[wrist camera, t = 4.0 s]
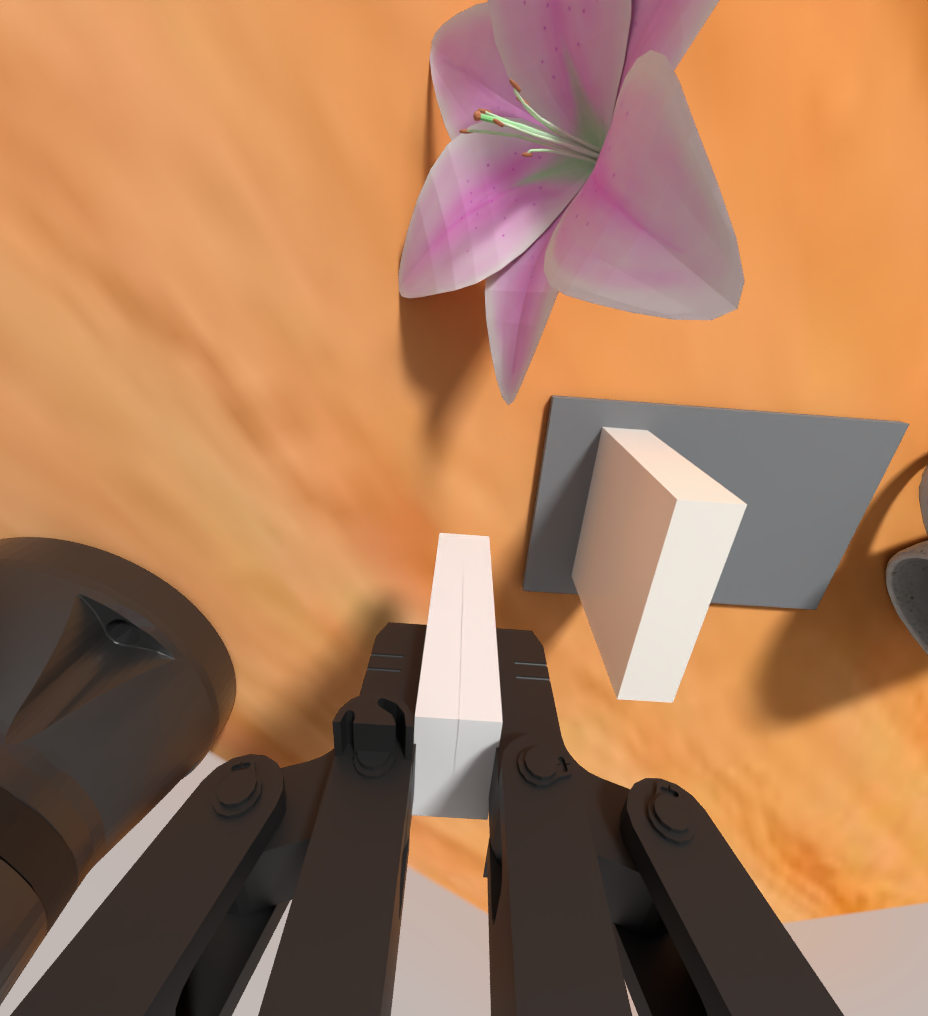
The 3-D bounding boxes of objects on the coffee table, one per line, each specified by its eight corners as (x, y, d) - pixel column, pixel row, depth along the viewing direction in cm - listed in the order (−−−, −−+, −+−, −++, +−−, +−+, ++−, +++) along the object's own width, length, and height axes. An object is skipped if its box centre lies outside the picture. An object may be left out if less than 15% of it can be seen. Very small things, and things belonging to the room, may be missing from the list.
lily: (588, -191, 12) (324, -891, 5) (971, 45, 11) (1441, -446, 3) (415, 250, 20) (212, 240, 12) (624, 422, 18) (533, 527, 11)
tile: (571, 575, 21) (617, 699, 14) (602, 426, 18) (677, 499, 11) (610, 578, 21) (673, 702, 14) (647, 430, 18) (747, 504, 11)
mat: (522, 585, 21) (523, 590, 21) (551, 395, 18) (553, 397, 17) (810, 604, 22) (815, 609, 21) (900, 421, 18) (909, 423, 18)
